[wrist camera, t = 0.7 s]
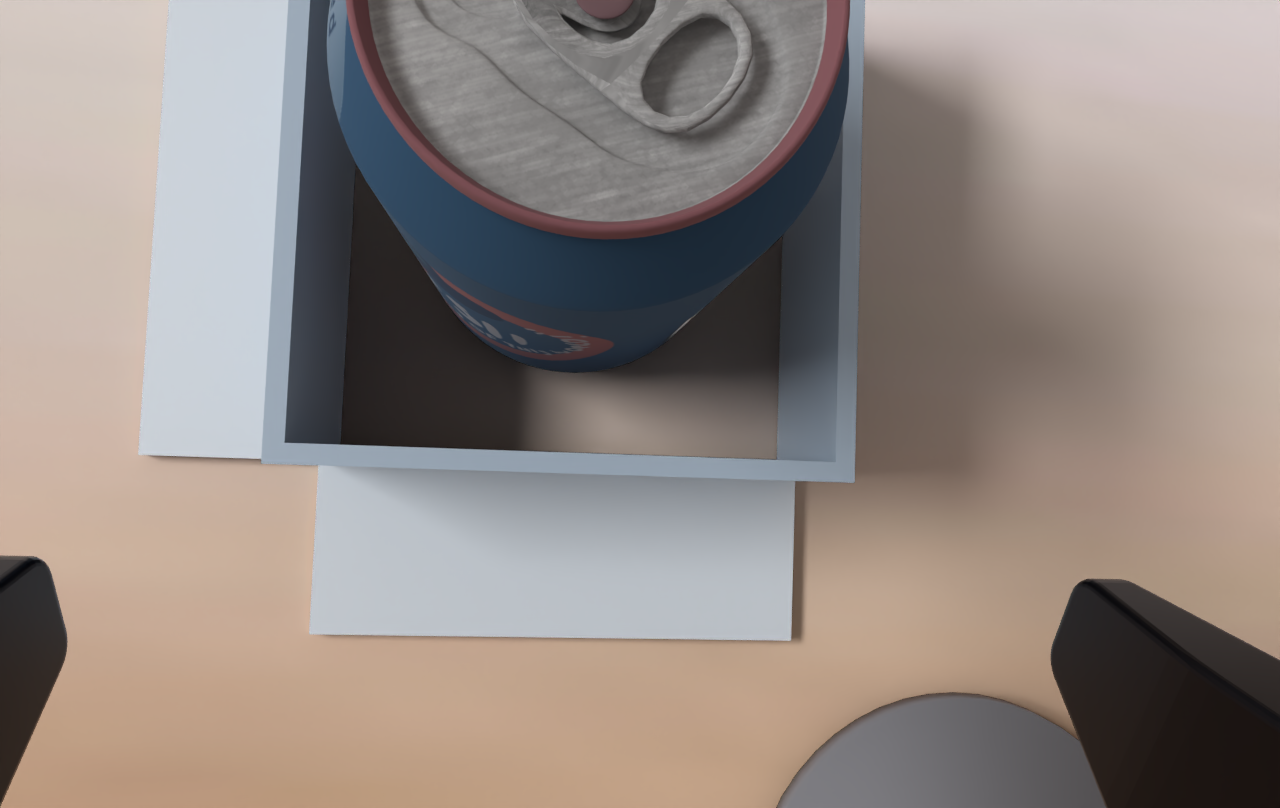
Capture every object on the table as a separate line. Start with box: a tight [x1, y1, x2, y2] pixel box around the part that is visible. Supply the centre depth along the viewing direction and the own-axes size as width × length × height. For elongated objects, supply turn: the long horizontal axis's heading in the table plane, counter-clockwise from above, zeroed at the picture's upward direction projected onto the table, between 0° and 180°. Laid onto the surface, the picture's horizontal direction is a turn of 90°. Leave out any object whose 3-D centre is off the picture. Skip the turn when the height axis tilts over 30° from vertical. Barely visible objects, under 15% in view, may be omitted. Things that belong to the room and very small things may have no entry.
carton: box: [138, 0, 865, 641], centre depth 19 cm, size 15×15×4 cm
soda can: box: [327, 0, 850, 373], centre depth 16 cm, size 7×7×12 cm
